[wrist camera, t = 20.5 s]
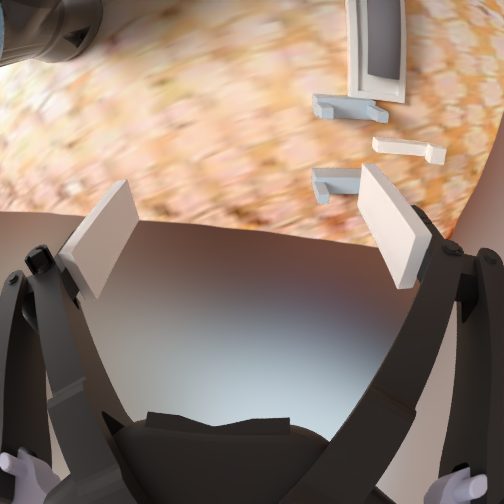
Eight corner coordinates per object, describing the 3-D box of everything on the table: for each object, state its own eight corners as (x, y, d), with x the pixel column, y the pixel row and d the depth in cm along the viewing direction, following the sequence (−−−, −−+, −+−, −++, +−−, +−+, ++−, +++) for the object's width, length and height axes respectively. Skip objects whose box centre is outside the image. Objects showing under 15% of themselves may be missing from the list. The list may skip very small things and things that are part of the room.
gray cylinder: (360, -18, 24) (373, -23, 20) (390, -12, 24) (405, -15, 20) (362, 72, 35) (375, 76, 31) (390, 75, 35) (405, 81, 31)
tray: (342, -22, 25) (345, -24, 24) (399, -10, 24) (403, -12, 23) (347, 95, 38) (350, 97, 37) (400, 101, 38) (404, 103, 36)
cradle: (310, 94, 39) (321, 102, 32) (368, 97, 38) (389, 107, 32) (309, 183, 49) (318, 207, 42) (361, 183, 48) (376, 207, 42)
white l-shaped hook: (373, 133, 33) (383, 142, 30) (433, 140, 33) (446, 149, 30) (371, 150, 35) (381, 159, 32) (431, 155, 34) (443, 165, 31)
